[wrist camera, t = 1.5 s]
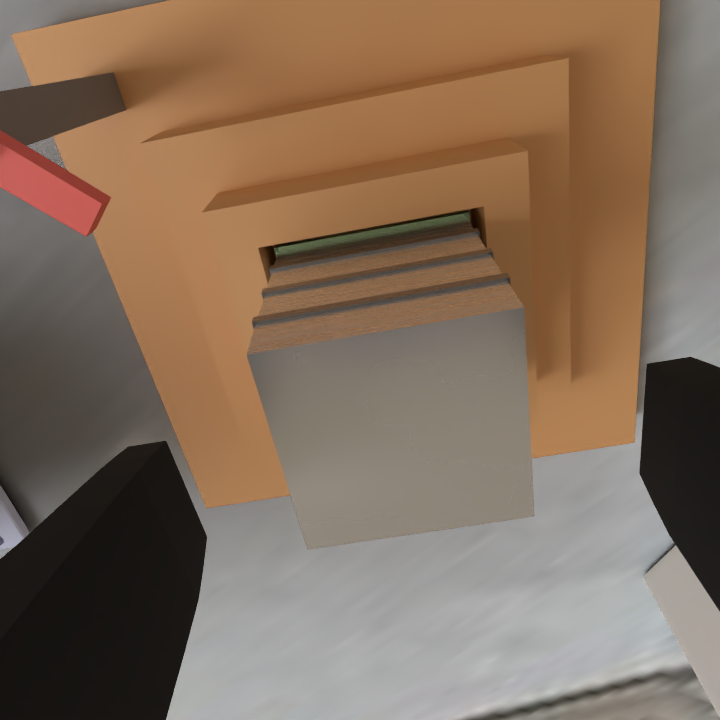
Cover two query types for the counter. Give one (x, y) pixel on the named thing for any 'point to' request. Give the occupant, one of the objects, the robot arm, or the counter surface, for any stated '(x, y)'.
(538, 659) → the counter surface
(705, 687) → the milk carton
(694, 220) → the counter surface
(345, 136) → the orange stepped square base
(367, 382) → the grey grooved block
